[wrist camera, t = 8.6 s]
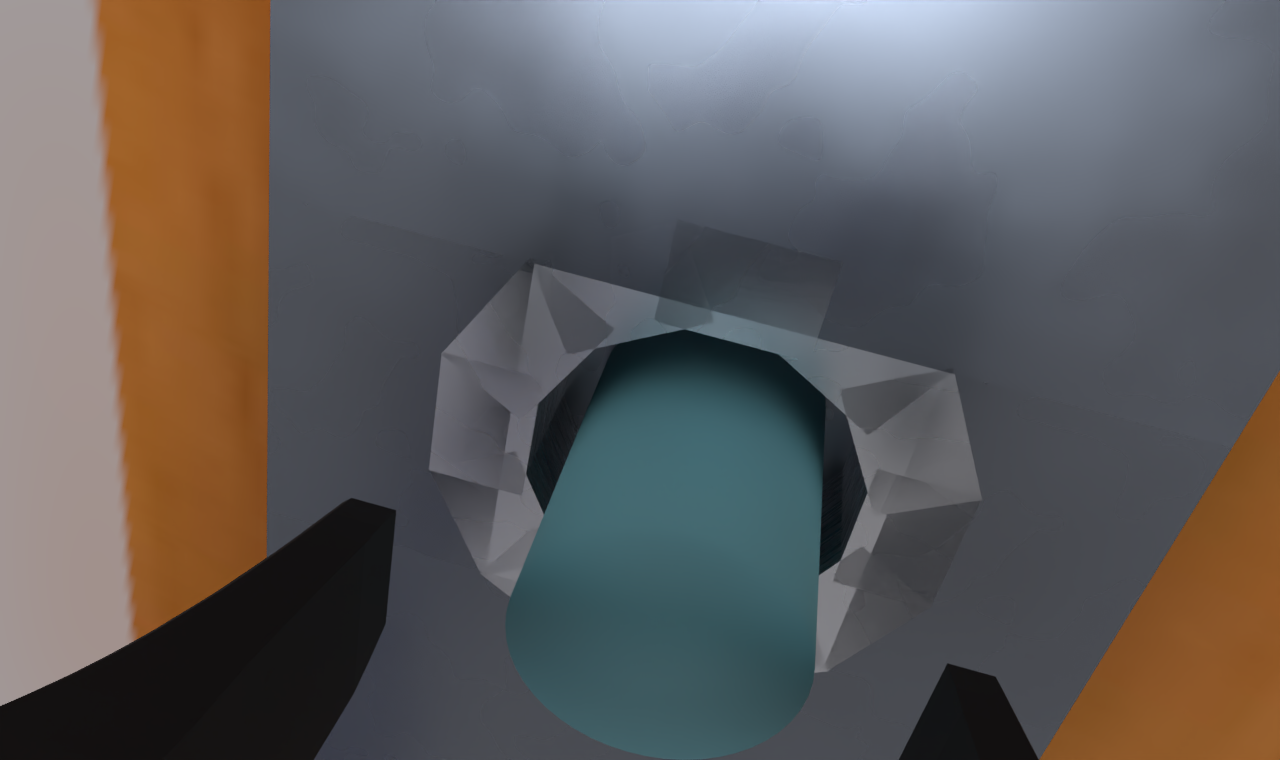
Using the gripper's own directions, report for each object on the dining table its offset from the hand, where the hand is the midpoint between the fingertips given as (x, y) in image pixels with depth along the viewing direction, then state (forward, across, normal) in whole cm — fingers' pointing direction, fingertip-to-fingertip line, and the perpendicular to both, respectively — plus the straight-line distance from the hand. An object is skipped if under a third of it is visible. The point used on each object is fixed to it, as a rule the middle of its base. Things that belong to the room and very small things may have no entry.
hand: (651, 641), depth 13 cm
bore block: (+6, 0, 0) cm, 7 cm away
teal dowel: (+6, 0, 0) cm, 6 cm away
